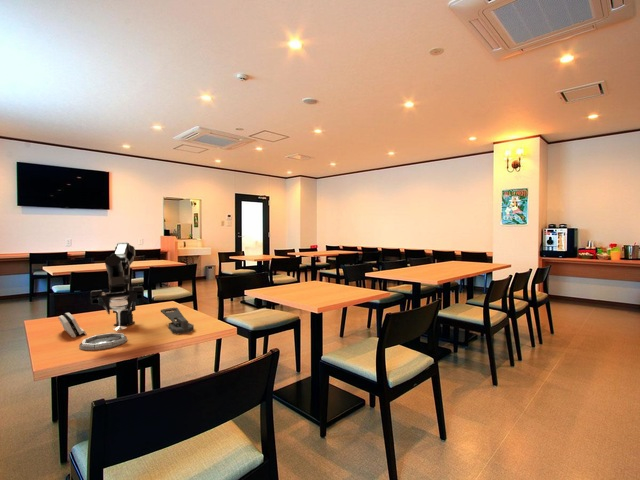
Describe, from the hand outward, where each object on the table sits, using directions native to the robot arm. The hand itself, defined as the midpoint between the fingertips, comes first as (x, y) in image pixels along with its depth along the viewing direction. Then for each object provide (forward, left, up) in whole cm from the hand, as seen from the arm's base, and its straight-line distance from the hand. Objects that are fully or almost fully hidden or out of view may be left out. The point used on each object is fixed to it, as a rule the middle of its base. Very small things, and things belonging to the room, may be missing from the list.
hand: (119, 312), depth 136 cm
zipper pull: (+8, +24, -12) cm, 28 cm away
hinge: (-32, +7, -13) cm, 35 cm away
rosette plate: (-6, -2, -12) cm, 14 cm away
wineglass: (-1, +1, -7) cm, 7 cm away
